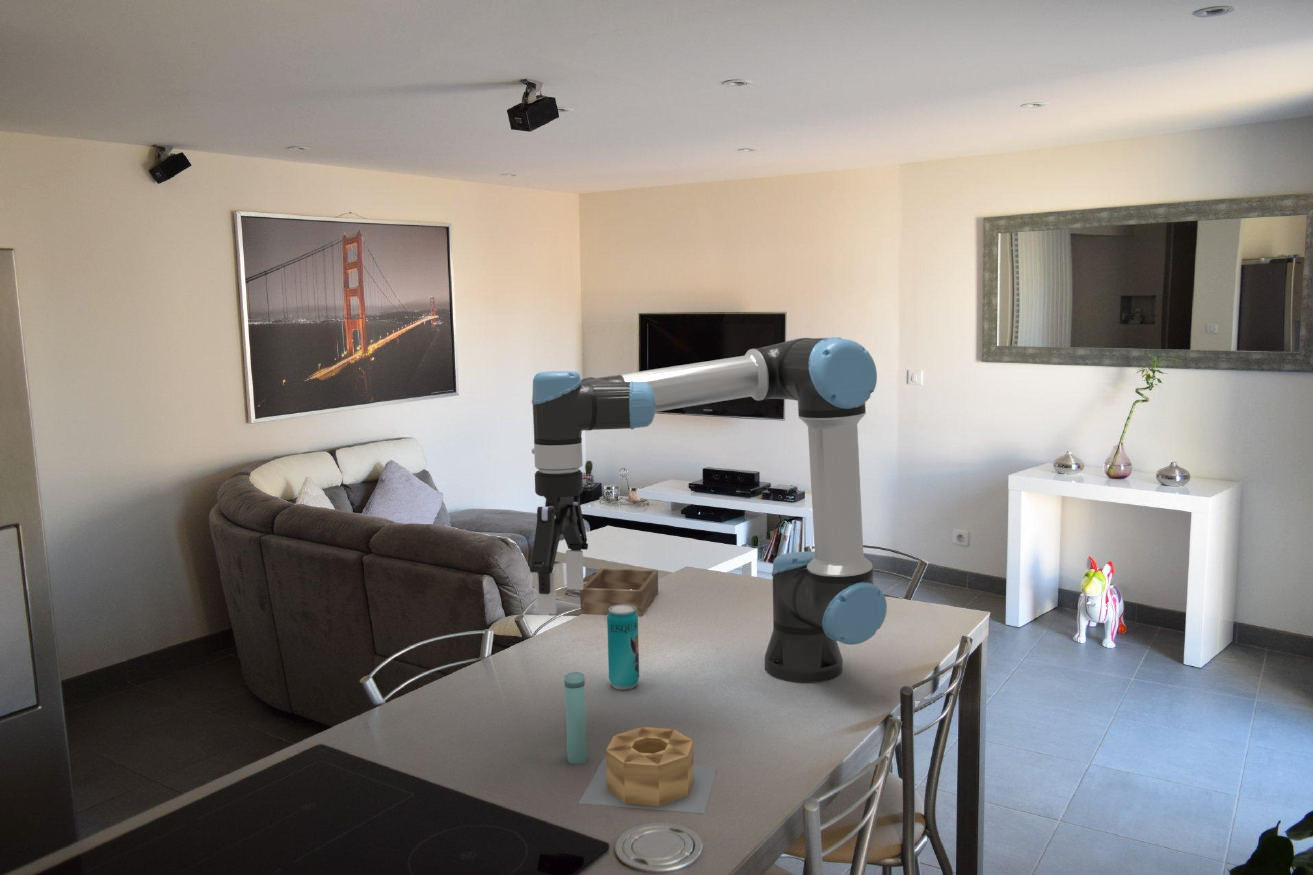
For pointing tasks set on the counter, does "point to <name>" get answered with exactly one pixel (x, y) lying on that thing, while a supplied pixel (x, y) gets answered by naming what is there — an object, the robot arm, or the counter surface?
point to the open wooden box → (619, 590)
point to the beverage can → (623, 646)
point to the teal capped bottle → (575, 717)
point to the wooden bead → (650, 766)
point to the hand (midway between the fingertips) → (561, 600)
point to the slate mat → (688, 804)
